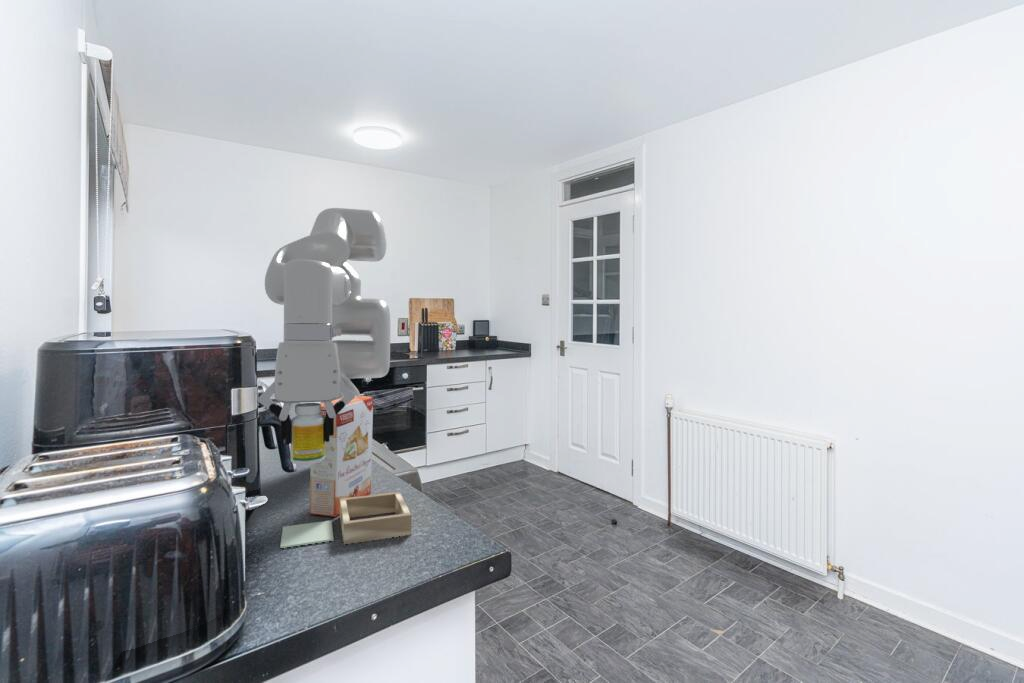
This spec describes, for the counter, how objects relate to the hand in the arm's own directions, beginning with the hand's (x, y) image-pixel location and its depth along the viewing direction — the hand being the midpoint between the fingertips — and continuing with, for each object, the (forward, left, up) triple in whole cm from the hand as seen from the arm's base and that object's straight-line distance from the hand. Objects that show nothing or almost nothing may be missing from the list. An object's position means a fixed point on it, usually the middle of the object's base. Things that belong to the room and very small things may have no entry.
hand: (307, 440), depth 82 cm
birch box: (0, +11, -16) cm, 20 cm away
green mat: (0, 0, -16) cm, 16 cm away
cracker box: (-13, +7, -17) cm, 22 cm away
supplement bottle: (0, 0, -4) cm, 4 cm away
